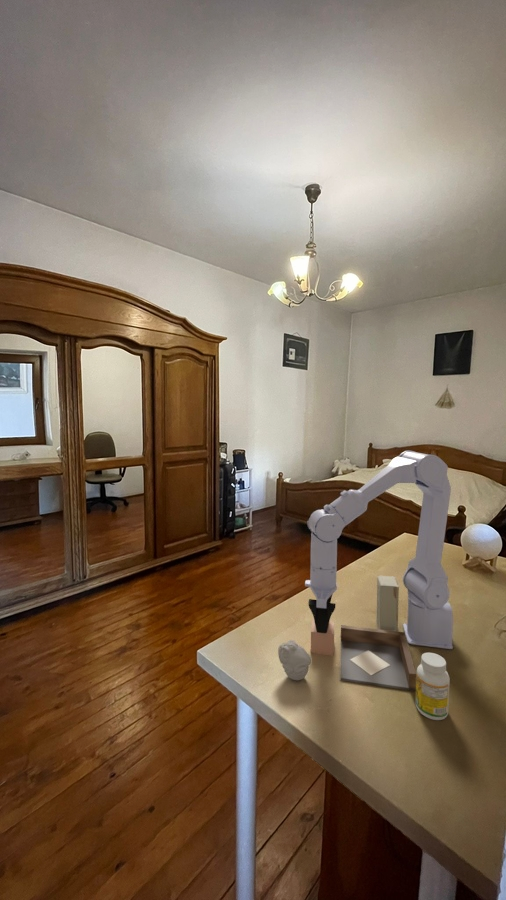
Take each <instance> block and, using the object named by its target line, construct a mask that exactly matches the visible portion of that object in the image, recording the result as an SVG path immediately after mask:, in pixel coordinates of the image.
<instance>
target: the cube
mask: <svg viewBox="0 0 506 900" xmlns="http://www.w3.org/2000/svg"><path fill="white" fill-rule="evenodd" d="M310 653H311V654H317V655H318V654H319V655H326V656H334V655H335V621H329V626H328V630H327V633H318V632H317V631H316V627H315V621H314V619H312V621H311V629H310Z"/></svg>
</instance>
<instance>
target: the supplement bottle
mask: <svg viewBox="0 0 506 900" xmlns="http://www.w3.org/2000/svg"><path fill="white" fill-rule="evenodd" d="M450 681H451V679H450V675H449V673H448V671H447V661H446V659H445V658H444V657H442V656H441V655H439V654H437V653H434V652H424V653H422V654H421V657H420V664H419V665H418V666H417V668H416V690H415V706H416V708H417V710H418V712H419V714H421V715H423V716H424V717H426V718H428V719H430V720H432V721H441V720H442V721H443V720H445V719H446V718H447V717H448V715H449V703H450V702H449V701H450V699H449V697H450V683H451V682H450Z"/></svg>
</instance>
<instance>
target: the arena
mask: <svg viewBox="0 0 506 900" xmlns="http://www.w3.org/2000/svg"><path fill="white" fill-rule="evenodd" d="M416 676H417V671H416V669H415V665H414V663H413V658H412V655H411V651H410V647H409V643H408V642H407V638H406V635H405V631H398V632H397V631H389V630H380V629H378V628H371V627H363V626H355V625H354V626H352V625H345V624H344V625H343V624H341V625H340V679H339V681H344V682H351V683H357V684H362V685H363V684H364V685H365V684H366V685H371V686H378V687H383V688H391V689H399V690H404V691H410V692H416Z"/></svg>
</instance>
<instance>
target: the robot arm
mask: <svg viewBox="0 0 506 900" xmlns="http://www.w3.org/2000/svg"><path fill="white" fill-rule="evenodd" d="M391 459H392V460H391V461H390V462H389V464H388V465H386V466H385V467H384V468H383V469H381V471H379V472H378V473H377V474H376V475H375V476H373V477H372V478H370V480H368V481H367V482H366V483H365V484H364V485H362V487H360V488H359V489H349V490H345V489H344V490H342V491H341V492H340V493H339V494H340V496H339V497H338V498H336V499H335V500H333V501H332V502H331V503H330V504H325V505H324V506H323V509H316V510H315V511H313V512H312V513H311V514H310V517H309V518H308V520H307V521H306V523H307V527H308V529H309V530H310V532H311V533H310V535H311V536H310V570H309V571H310V572H309V573H310V574H309V575H310V579H306V580H305V582H304V587H307V588H309V589H310V590H311V592H312V593H313V595H314V597H315V599H314V598H313V599H312V598H309V599H308V603H307V604H308V605H307V606H308V608H309V609H310V612H311V614H312V615H313V620H314V621H315V627H316V631H317V632H318V633H327V630H328V626H329V622H331V618H332V615H333V613H334V612H335V610H336V603H332V602H331V601H332V599H333V598H332V597H333V594H334V593H335V592H336V591H337V590H338V583H337V572H338V570H337V567H338V566H337V565H338V564H337V563H338V562H337V560H338V559H337V558H338V539H339V538H340V536H341V535H342V533H343V532H342V531H343V530H344V528H346V526H348V525H349V524H350V523H351V522H353V521H354V520H356V518H358V517H360V516H361V515H363V514H364V513H365V512H366V511H367V510H368V504H369V502H371V501H373V500H374V499H376V498H377V497H378V496H381V495H382V494H383V493H385V492H387V490H390V489H391V488H392V487H394V486H395V485H397V484H414V485H415V486H417V487H418V489H419V490H420V491H421V492H422V494H423V496H422V501H421V502H422V503H421V510H420V517H419V518H420V519H419V524H418V525H419V526H418V533H417V543H416V549H415V556H414V558H413V559H411V560H409V561H408V564H407V568H406V571H405V572H404V574H403V576H402V583H403V586H404V588H406V590H407V618H406V619H407V620H406V621H407V622H406V623H403V625H402V626H403V630H404V631H403V632H405V636H406V640H407V643H408V645H414V646H422V647H428V648H429V647H431V648H438V649H446V650H453V648H454V646H453V633H454V630H453V629H454V615H453V614H454V613H453V608H452V606H451V603H450V602H449V598H450V595H451V594H450V589H449V586H448V580H449V577H448V574H446V571H445V570H444V569H445V568H444V567H443V566H442V560H443V559H442V557H443V551H444V545H445V543H444V542H445V535H446V528H447V521H448V515H449V514H448V513H449V507H450V500H451V499H450V497H451V491H452V488H451V487H452V486H451V484H450V480H449V478H448V477H449V476H448V465H447V463H445V462H444V460H443V459H441V458H440V457H439V456H437V455H436V454H428V453H427V454H426V453H421V452H416V451H414V450H404V451H403V452H401V453H400V454H399V455H398V456H396V457H394V458H391Z"/></svg>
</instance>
